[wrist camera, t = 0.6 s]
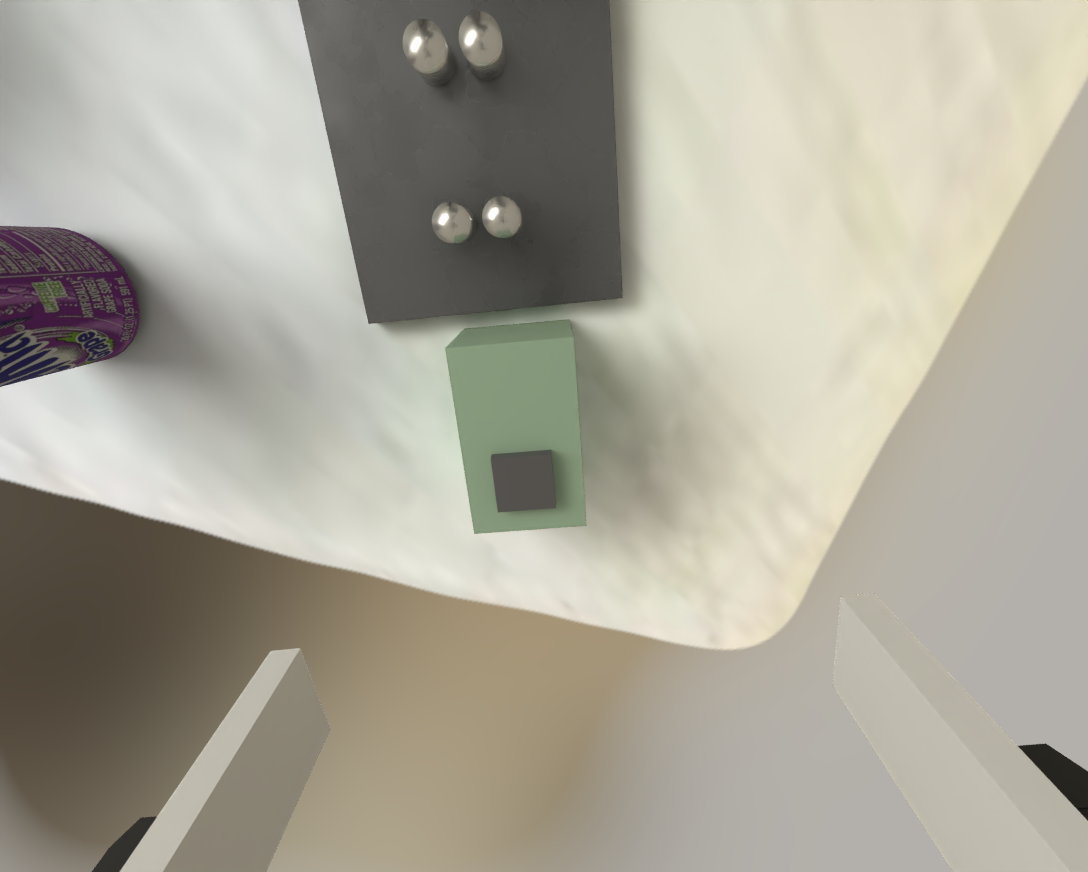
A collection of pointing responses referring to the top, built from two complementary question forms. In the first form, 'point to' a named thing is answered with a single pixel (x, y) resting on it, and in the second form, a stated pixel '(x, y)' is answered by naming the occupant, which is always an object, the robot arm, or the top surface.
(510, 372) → the green block
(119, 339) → the beverage can
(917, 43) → the top surface
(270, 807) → the robot arm
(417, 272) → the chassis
